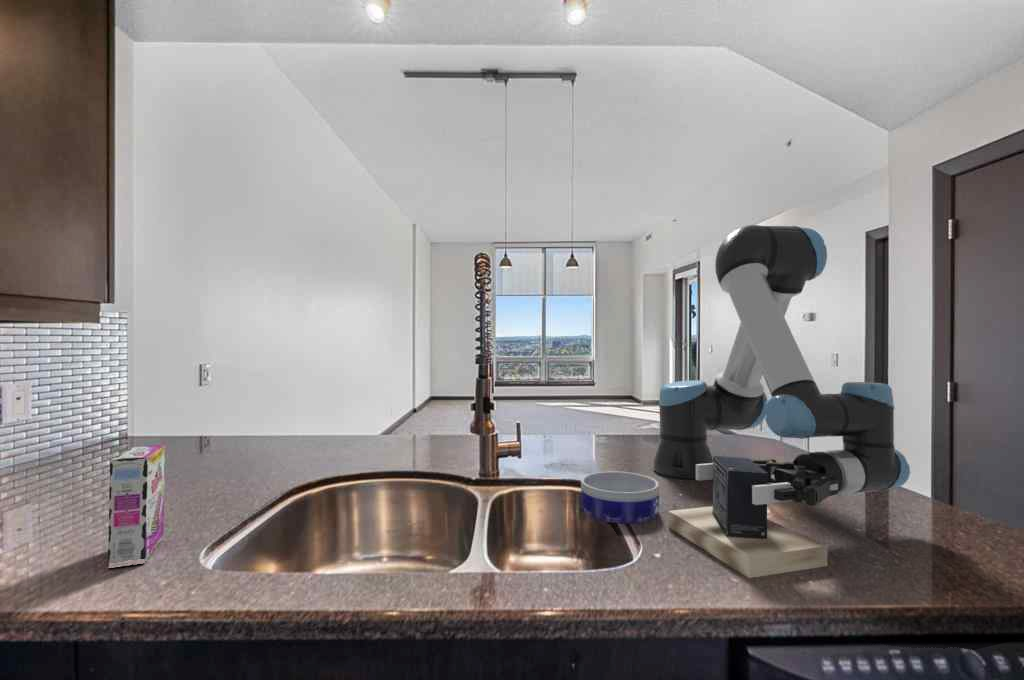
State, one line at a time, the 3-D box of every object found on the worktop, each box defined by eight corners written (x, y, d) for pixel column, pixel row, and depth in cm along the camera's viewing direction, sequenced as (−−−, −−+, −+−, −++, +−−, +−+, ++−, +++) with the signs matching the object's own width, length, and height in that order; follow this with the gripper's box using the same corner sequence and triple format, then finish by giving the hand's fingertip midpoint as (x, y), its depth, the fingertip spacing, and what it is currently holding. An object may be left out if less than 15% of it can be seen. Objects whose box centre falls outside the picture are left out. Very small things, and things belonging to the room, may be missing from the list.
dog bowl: (657, 529, 89) (657, 495, 89) (574, 519, 93) (574, 487, 94) (660, 503, 103) (660, 474, 103) (588, 496, 108) (588, 468, 108)
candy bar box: (147, 564, 75) (147, 457, 75) (106, 571, 73) (106, 460, 73) (166, 538, 85) (166, 443, 85) (130, 542, 83) (131, 446, 83)
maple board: (668, 527, 89) (668, 511, 89) (733, 519, 92) (733, 503, 92) (749, 578, 69) (749, 557, 69) (827, 566, 73) (827, 545, 73)
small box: (770, 540, 75) (770, 472, 75) (725, 537, 77) (725, 469, 77) (750, 516, 86) (750, 456, 86) (711, 514, 87) (710, 455, 87)
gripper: (899, 519, 74) (784, 534, 68) (770, 476, 98) (678, 484, 92) (898, 469, 74) (783, 480, 68) (770, 438, 98) (677, 444, 92)
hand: (722, 482), depth 80 cm, fingers open, 13 cm apart
